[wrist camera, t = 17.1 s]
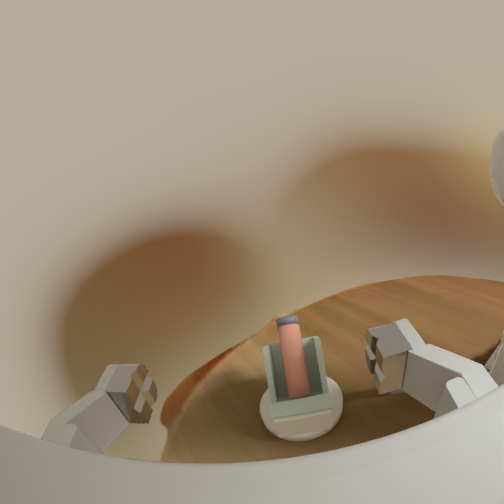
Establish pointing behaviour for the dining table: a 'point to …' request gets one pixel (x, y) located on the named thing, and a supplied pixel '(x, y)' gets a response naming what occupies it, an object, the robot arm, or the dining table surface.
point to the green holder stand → (303, 408)
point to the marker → (293, 357)
